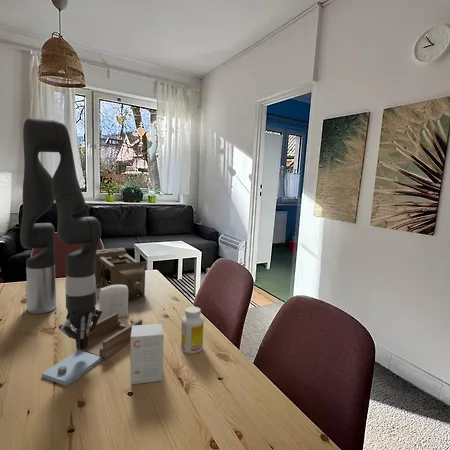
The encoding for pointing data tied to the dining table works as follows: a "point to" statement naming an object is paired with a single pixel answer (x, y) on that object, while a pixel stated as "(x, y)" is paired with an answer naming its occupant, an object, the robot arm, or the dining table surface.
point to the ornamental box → (120, 271)
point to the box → (109, 337)
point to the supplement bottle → (192, 331)
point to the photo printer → (113, 301)
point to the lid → (71, 367)
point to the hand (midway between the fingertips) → (82, 348)
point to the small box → (146, 353)
